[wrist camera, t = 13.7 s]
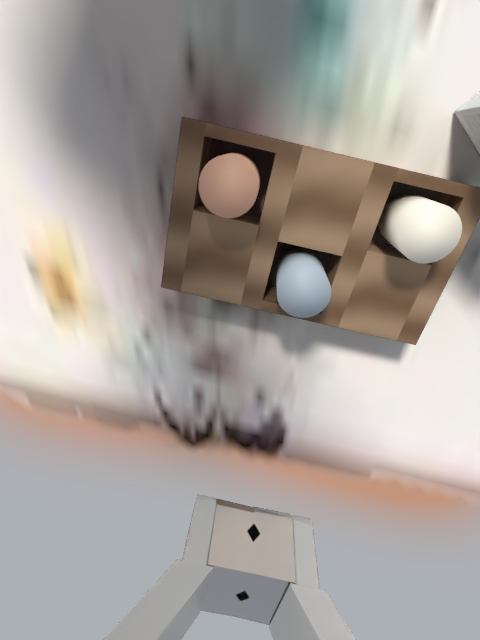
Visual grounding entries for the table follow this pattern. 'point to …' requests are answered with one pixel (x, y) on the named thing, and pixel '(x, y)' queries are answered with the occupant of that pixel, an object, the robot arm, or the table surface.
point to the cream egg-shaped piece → (420, 227)
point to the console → (309, 234)
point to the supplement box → (471, 119)
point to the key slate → (302, 284)
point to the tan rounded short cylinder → (229, 184)
